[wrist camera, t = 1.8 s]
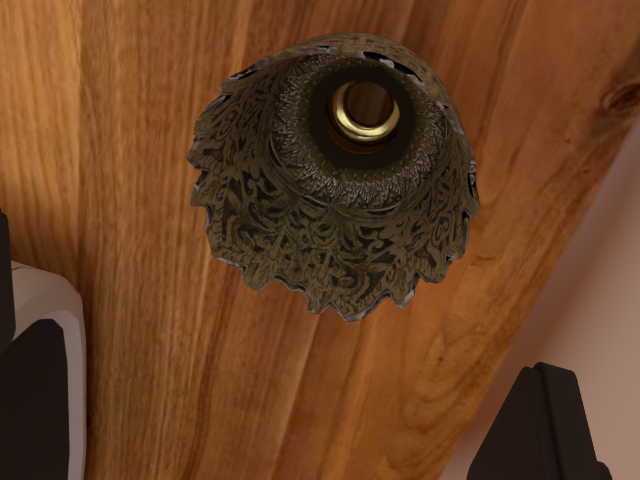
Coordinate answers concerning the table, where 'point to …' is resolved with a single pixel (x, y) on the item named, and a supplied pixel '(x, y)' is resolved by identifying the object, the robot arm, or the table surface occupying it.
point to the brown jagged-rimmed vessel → (335, 175)
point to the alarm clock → (43, 381)
